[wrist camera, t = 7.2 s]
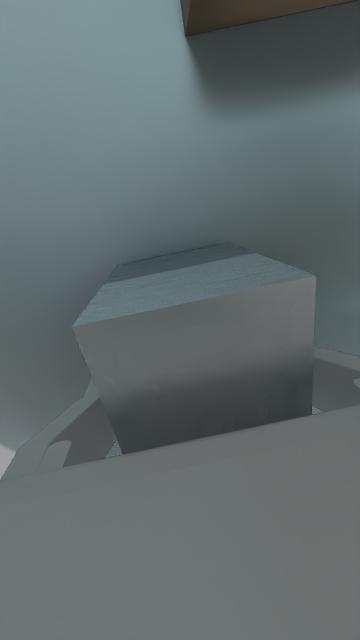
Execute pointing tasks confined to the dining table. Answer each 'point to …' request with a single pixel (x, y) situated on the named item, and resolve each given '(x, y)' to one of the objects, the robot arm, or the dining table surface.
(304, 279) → the block
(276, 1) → the walnut stand
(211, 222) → the dining table surface
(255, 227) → the dining table surface
